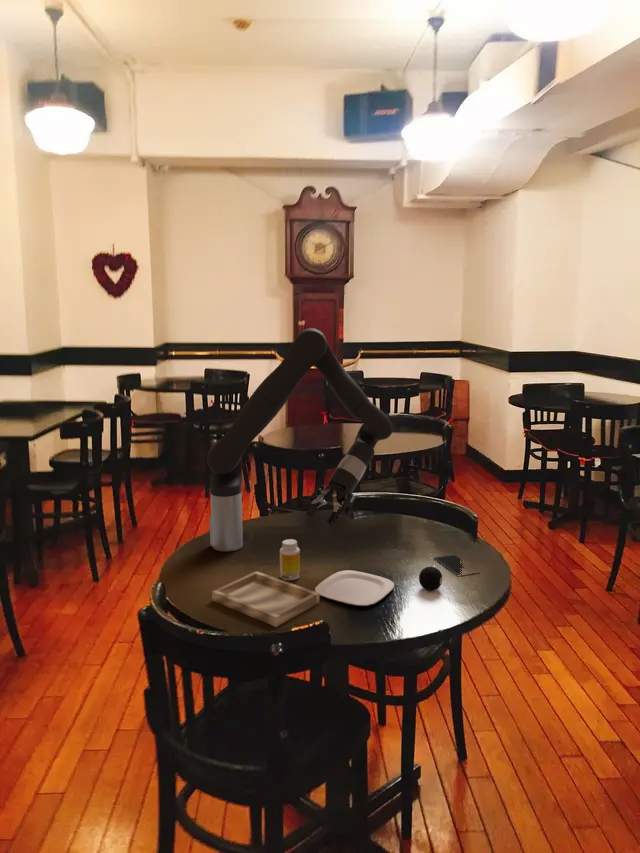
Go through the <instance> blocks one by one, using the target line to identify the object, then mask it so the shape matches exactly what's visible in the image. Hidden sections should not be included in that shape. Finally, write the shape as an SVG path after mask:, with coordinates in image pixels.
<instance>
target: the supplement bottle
mask: <svg viewBox="0 0 640 853" xmlns="http://www.w3.org/2000/svg"><path fill="white" fill-rule="evenodd" d="M281 546H282V547H281V548H280V549H279V577H280V578H281V580H283V581H295V580H297V579H299V578H300V577H301V549H300V548H299V546H298V541H297V540H296V539H293V538H289V539H285V540H282V542H281Z"/></svg>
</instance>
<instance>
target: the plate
mask: <svg viewBox="0 0 640 853" xmlns="http://www.w3.org/2000/svg"><path fill="white" fill-rule="evenodd" d="M394 588H395V582H393V581H392V580H390V579H388V578H385V577H383V576H379V575H376V574H372V573H367V572H363V571H359V570H358V571H357V570H349V569H348V570H347V569H346V570H341V571H337V572H335V573H333V574H331V575H330V576H328V577H327V578H325V579H324V580H322V581H321V582H320V583H319V584H317V585H316V586H315V589H314V592H317V593H319V597H321V598H325V599H327V600H330V601H334V602H338V603H341V604H345V605H350V606H355V607H369V606H371V605H375V604H377V603H378V602H380V601H382V600H383V599H384V598H385V597H387V595H389V594H390V593H391V592H392V591H393V589H394Z"/></svg>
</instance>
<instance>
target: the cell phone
mask: <svg viewBox="0 0 640 853" xmlns="http://www.w3.org/2000/svg"><path fill="white" fill-rule="evenodd" d="M433 559H435V561H436V560H437V561H438V562H439V563H438V562H437V561H436V562H437V563H438V564H440V563H441V564H442V565H443V566H442V565H441V564H440V565H441V566H442V567H444V566H445V567H446V568H447V570H448V569H449V570H450V571H452V572H453V573H455V574H456V575H460V574H461V573H462V572H461V571H462V570H461V569H462V567H463V566H462V565H463V564H462V563H461V564H462V565H461V564H460V560H461V559H463V558H462V557H460V556H459V555H458V554H455V553H454V554H453V553H452V554H446V555H440V556H434V558H433ZM461 561H462V560H461ZM445 567H444V568H445ZM446 568H445V569H446ZM460 568H461V569H460ZM463 568H464V567H463ZM449 570H448V571H449ZM460 570H461V571H460ZM450 571H449V572H450ZM452 572H451V573H452ZM460 572H461V573H460ZM453 573H452V574H453ZM455 574H454V575H455ZM456 575H455V576H456ZM461 575H462V574H461Z"/></svg>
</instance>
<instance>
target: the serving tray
mask: <svg viewBox="0 0 640 853" xmlns="http://www.w3.org/2000/svg"><path fill="white" fill-rule="evenodd" d="M211 595H212V597H211V598H212V599H211V600H212V602H215V603H217V604H219V605H222V606H224V607H227V608H229V609H232V610H235V611H236V612H239V613H241V614H244V615H246V616H248V617H250V618H254V619H256V620H258V621H261V622H263V623H266V624H268V625H271V626H273V627H275V628H278V627H279V626H281V625H283V624H284V623H286V622H288V621H289V620H291V619H293V618H295V617H296V616H299V615H300V614H302V613H304V612H305V611H308V610H309V609H310V608H313V607H314V606H316V605H318V604H320V595H319V593H317V592H315V590H312V589H308V588H306V587H303V586H300V585H298V584H294V583H291V582H288V581H287V580H284V579H280V578H277V577H273V576H272V575H269V574H266V573H263V572H260V571H258V570H256V571H253V572H251V573H249V574H246V575H244V576H243V577H241V578H238V579H236V580H234V581H232V582H230V583H227V584H225V585H224V586H221V587H219V588H216V589H215V590H213V591H211Z"/></svg>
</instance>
